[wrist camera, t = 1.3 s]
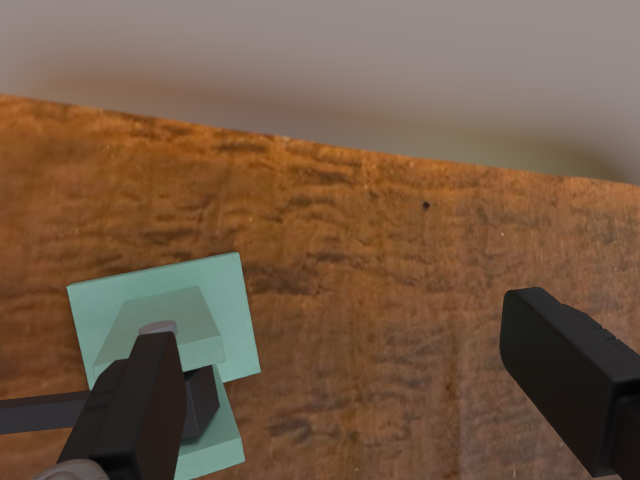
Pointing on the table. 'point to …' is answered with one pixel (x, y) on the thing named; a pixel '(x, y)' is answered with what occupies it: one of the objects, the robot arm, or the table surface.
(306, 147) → the table surface
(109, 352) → the bracket
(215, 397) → the lever
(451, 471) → the table surface
